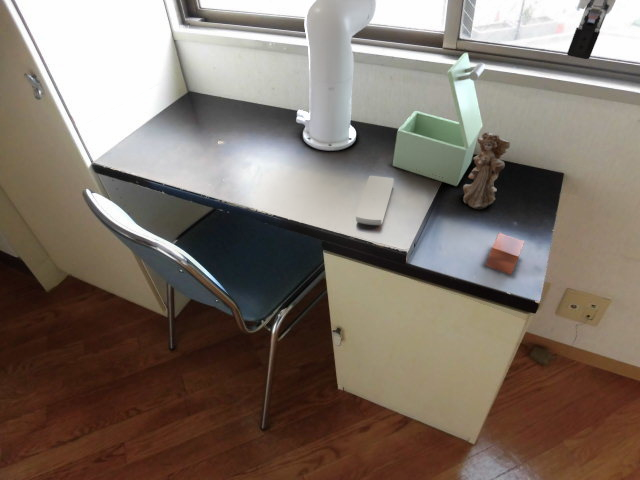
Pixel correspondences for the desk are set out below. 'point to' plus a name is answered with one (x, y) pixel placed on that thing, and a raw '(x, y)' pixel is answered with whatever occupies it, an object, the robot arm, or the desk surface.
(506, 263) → the block
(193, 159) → the desk surface
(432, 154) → the chest
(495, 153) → the figurine
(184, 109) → the desk surface
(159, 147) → the desk surface
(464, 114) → the lid
